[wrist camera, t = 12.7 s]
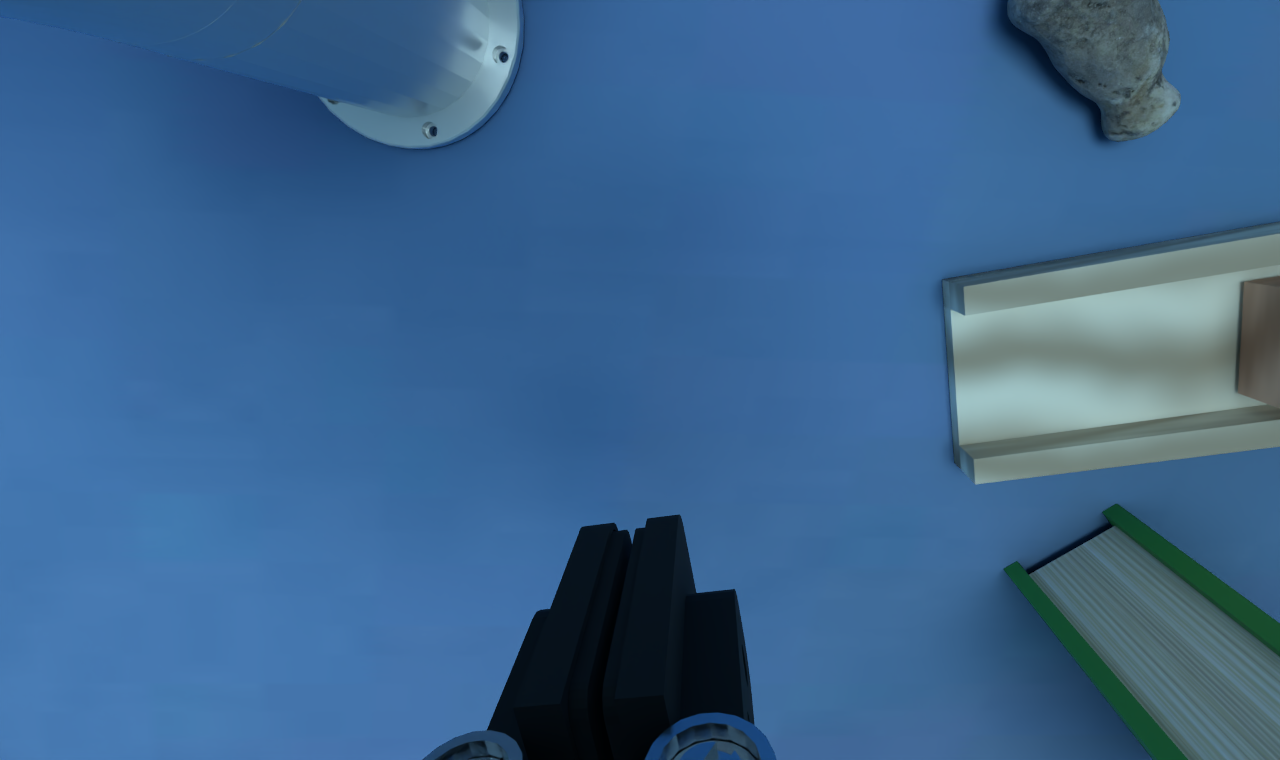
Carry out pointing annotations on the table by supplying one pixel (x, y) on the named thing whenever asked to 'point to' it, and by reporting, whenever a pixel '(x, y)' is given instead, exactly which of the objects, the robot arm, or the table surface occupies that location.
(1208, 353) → the chute
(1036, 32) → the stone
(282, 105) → the table surface
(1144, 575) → the hardback book
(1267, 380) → the block
